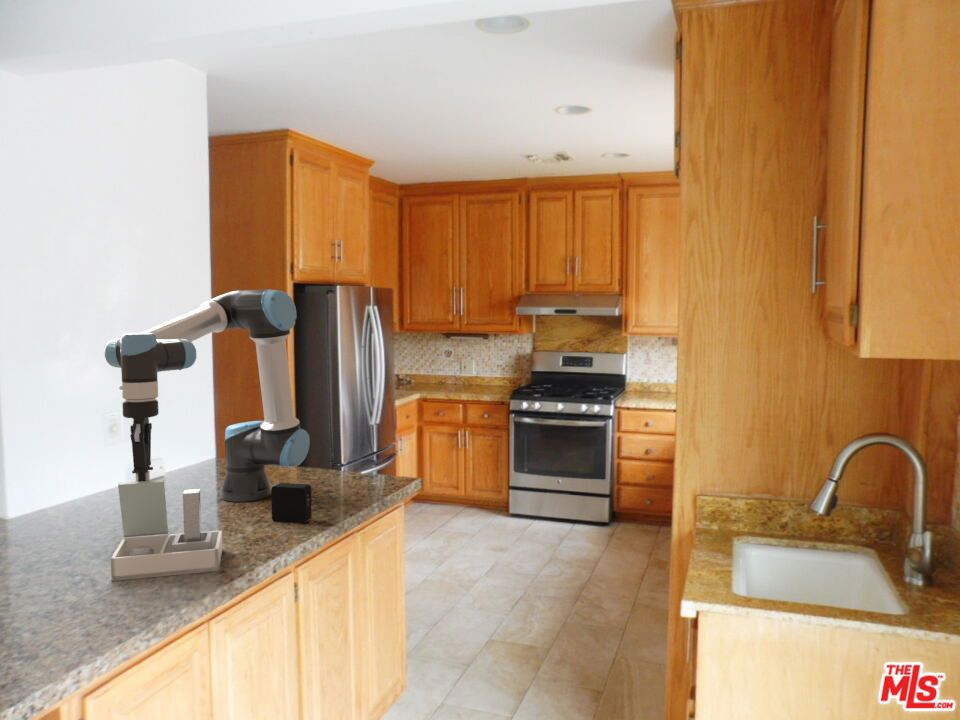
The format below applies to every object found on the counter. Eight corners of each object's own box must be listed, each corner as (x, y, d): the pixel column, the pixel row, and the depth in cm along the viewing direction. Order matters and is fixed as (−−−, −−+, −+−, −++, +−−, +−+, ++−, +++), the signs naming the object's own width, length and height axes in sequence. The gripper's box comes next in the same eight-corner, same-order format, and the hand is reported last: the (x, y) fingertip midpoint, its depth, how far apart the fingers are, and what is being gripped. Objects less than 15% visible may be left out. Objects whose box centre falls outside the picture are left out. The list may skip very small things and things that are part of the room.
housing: (124, 558, 169) (123, 534, 168) (222, 550, 175) (222, 526, 174) (111, 581, 155) (110, 554, 155) (218, 570, 162) (218, 545, 161)
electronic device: (305, 524, 196) (304, 488, 195) (271, 521, 198) (270, 486, 197) (311, 519, 200) (311, 484, 199) (278, 517, 202) (278, 482, 201)
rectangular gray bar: (186, 556, 168) (184, 489, 166) (201, 555, 169) (200, 488, 167) (184, 561, 164) (182, 493, 163) (200, 560, 165) (198, 492, 164)
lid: (124, 538, 168) (124, 535, 169) (168, 534, 171) (168, 532, 172) (117, 484, 163) (118, 482, 163) (163, 482, 165) (164, 479, 166)
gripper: (128, 396, 171) (131, 493, 173) (116, 403, 158) (120, 508, 160) (162, 395, 173) (164, 490, 175) (153, 402, 160) (156, 505, 162)
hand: (143, 499), depth 167 cm, fingers closed
